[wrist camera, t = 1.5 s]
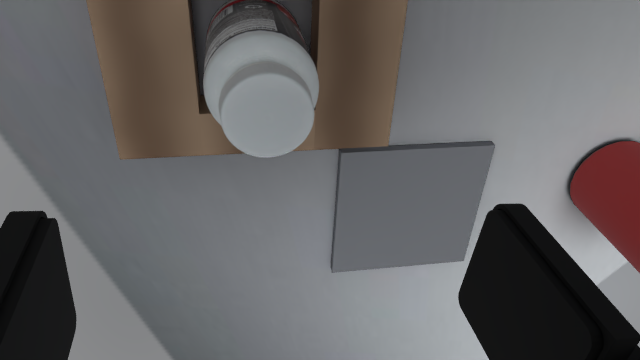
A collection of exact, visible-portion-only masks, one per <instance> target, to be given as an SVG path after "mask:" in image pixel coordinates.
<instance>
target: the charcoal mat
mask: <svg viewBox="0 0 640 360" xmlns="http://www.w3.org/2000/svg"><path fill="white" fill-rule="evenodd" d="M494 148H495V144H494V143H493V142H492V141H481V142H461V143H441V144H420V145H400V146H383V147H363V148H343V149H340V150H339V163H338V177H337V190H336V204H335V217H334V231H333V244H332V258H331V270H332V273H333V272H344V271H356V270H367V269H378V268H390V267H401V266H412V265H424V264H435V263H446V262H457V261H464V257H465V254H466V250H467V247H468V243H469V239H470V236H471V232H472V228H473V225H474V221H475V217H476V214H477V210H478V206H479V203H480V199H481V195H482V192H483V188H484V184H485V181H486V177H487V174H488V170H489V166H490V163H491V159H492V155H493V152H494Z"/></svg>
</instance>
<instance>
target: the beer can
mask: <svg viewBox="0 0 640 360" xmlns="http://www.w3.org/2000/svg"><path fill="white" fill-rule="evenodd" d="M570 196H571V198H572V201H573V203H574V205H575V206H576V207H577V208H578V209H579V210H580V211H581V212H582V213H583V214H584V215H585V216H586V217H587V218H588V219H589V220H590V221H591V222H592V224H593V225H594V226H595V227H596V228H597V229H598V230H599V231H600V232H601V233H602V234H603V235H604V236H605V237H606V238H607V239H608V240H609V241H610V242H611V243H612V245H613V246H614V247H615V248H616V249H617V250H618V251H619V252H620V253H621V254H622V255H623V256H624V257H625V258H626V259H627V260H628V261H629V262H630V263H631V264H632V265H633V266H634V268H635V269H636V270H637V271H638V272H640V143H638V142H635V141H620V142H616V143H613V144H609V145H606V146H604V147H602V148H600V149H599V150H597V151H595V152H593V153H592V154H591V155H590V156H589V157H588V158H586V159H585V160H584V161H583V162H582V164H581V165H580V166H579V168H578V169H577V170H576V172H575V174H574V176H573V179H572V181H571V187H570Z"/></svg>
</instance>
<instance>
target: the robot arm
mask: <svg viewBox="0 0 640 360" xmlns="http://www.w3.org/2000/svg"><path fill="white" fill-rule="evenodd" d="M458 298H459V304H460V307H461V309H462V311H463V313H464V314H465V316H466V318H467V320H468V322H469V324H470V325H471V327H472V329H473V331H474V333H475V334H476V336H477V338H478V340H479V342H480V344H481V345H482V347H483V349H484V351H485V353H486V354H487V356H488V358H489V360H640V348H639V347H638V345H637V344H638V343H639V341H640V334H639V333H638V332H637V331H636V330H635V329H634V328H633V327H632V325H631V324H630V323H629V322H628V321H627V320H626V319H625V318H624V316H623V315H622V314H621V313H620V312H619V311H618V310H617V309H616V307H615V306H614V305H613V304H612V303H611V302H610V301H609V300H608V298H607V297H606V296H605V295H604V294H603V293H602V292H601V291H600V289H598V287H597V286H596V285H595V284H594V283H593V281H592V280H591V279H590V278H589V277H588V276H587V275H586V274H585V272H584V271H583V270H582V269H581V268H580V267H579V266H578V265H577V263H576V262H575V261H574V260H573V259H572V258H571V257H570V256H569V254H568V253H567V252H566V251H565V250H564V249H563V248H562V247H561V245H560V244H559V243H558V242H557V241H556V240H555V239H554V237H553V236H552V235H551V234H550V233H549V232H548V231H547V230H546V228H545V227H544V226H543V225H542V224H541V223H540V222H539V221H538V219H537V218H536V217H535V216H534V215H533V214H532V213H531V212H530V210H529V209H528V208H527V207H526V206H525V205H523V204H498V205H496V206H495V207H494V209H493V210H491V211H489V212H488V214H487V216H486V218H485V221H484V224H483V227H482V229H481V232H480V235H479V238H478V241H477V243H476V246H475V249H474V252H473V254H472V257H471V260H470V263H469V266H468V268H467V271H466V274H465V277H464V279H463V282H462V285H461V288H460V291H459V297H458ZM75 329H76V311H75V307H74V302H73V297H72V292H71V287H70V282H69V277H68V272H67V267H66V262H65V257H64V252H63V247H62V242H61V237H60V232H59V227H58V223H57V220H56V219H55V218H47V215H46V213H45V212H43V211H19V212H17V211H16V212H15V211H13V212H10V213H9V214H8V215H7V217H6V219H5V221H4V223H3V224H2V226H1V228H0V360H68V356H69V352H70V349H71V345H72V341H73V338H74V334H75Z"/></svg>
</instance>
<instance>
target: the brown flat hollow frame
mask: <svg viewBox="0 0 640 360" xmlns="http://www.w3.org/2000/svg"><path fill="white" fill-rule="evenodd" d="M86 2H87V6H88V11H89V16H90V20H91V25H92V30H93V34H94V39H95V44H96V49H97V53H98V58H99V63H100V67H101V72H102V77H103V82H104V86H105V91H106V96H107V100H108V105H109V110H110V114H111V119H112V124H113V129H114V133H115V138H116V143H117V147H118V152H119V157H120V159H139V158H159V157H180V156H200V155H220V154H241V153H244V152H242V151H240V150H239V149H237V148H236V147H235V146H234V145H233V144H232V143H231V142H230V141H229V140H228V139H227V137H226V135H225V134H224V131H223V129H222V126H221V125H220V124H219V123H218V122H217V121H216V120H215V118H214V117H213V116H212V114H211V112H210V110H209V108H208V106H207V103H206V100H205V96H204V95H200V85H199V75H198V65H197V54H196V44H195V34H194V24H193V14H192V4H191V0H86ZM407 3H408V0H312V21H311V52H310V56H311V58H312V60H313V62H314V64H315V67H316V71H317V74H318V80H319V94H318V99H317V103H316V106H315V108H314V122H313V126H312V129H311V131H310V133H309V135H308V136H307V138H306V139H305V140H304V141H303V143H302V144H301V145H299V146H298V147H297V148H296V149H294V150H293V151H302V150H322V149H343V148H363V147H383V146H388V143H389V135H390V128H391V121H392V113H393V106H394V99H395V91H396V84H397V77H398V69H399V62H400V55H401V47H402V40H403V33H404V25H405V18H406V11H407Z"/></svg>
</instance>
